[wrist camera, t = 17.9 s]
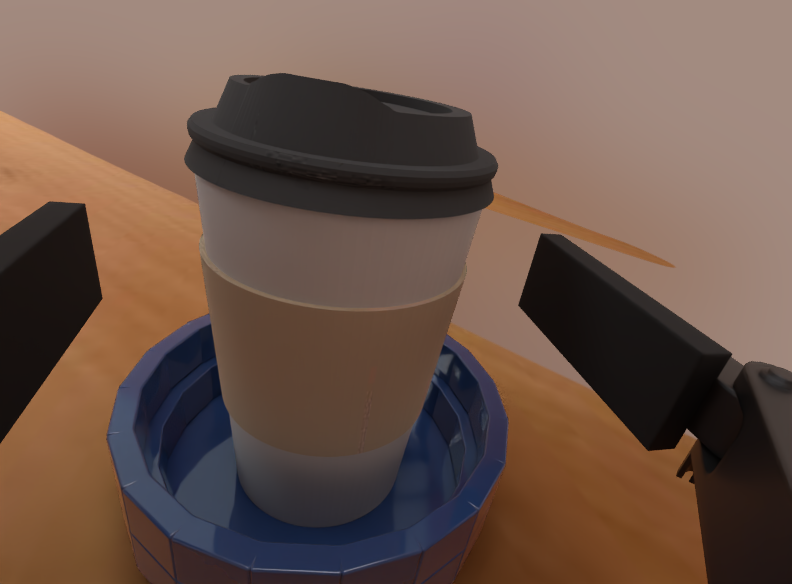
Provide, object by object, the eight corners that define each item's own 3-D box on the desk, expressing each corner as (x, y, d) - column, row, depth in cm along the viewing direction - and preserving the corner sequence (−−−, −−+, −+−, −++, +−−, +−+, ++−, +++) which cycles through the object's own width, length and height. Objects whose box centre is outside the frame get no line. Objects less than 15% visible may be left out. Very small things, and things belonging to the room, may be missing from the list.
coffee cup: (271, 369, 24) (277, 58, 17) (435, 412, 23) (512, 98, 16) (156, 516, 16) (78, 41, 9) (399, 592, 15) (524, 120, 8)
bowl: (28, 654, 12) (-18, 559, 10) (204, 350, 25) (200, 281, 23) (523, 665, 14) (569, 584, 12) (452, 373, 27) (469, 310, 25)
